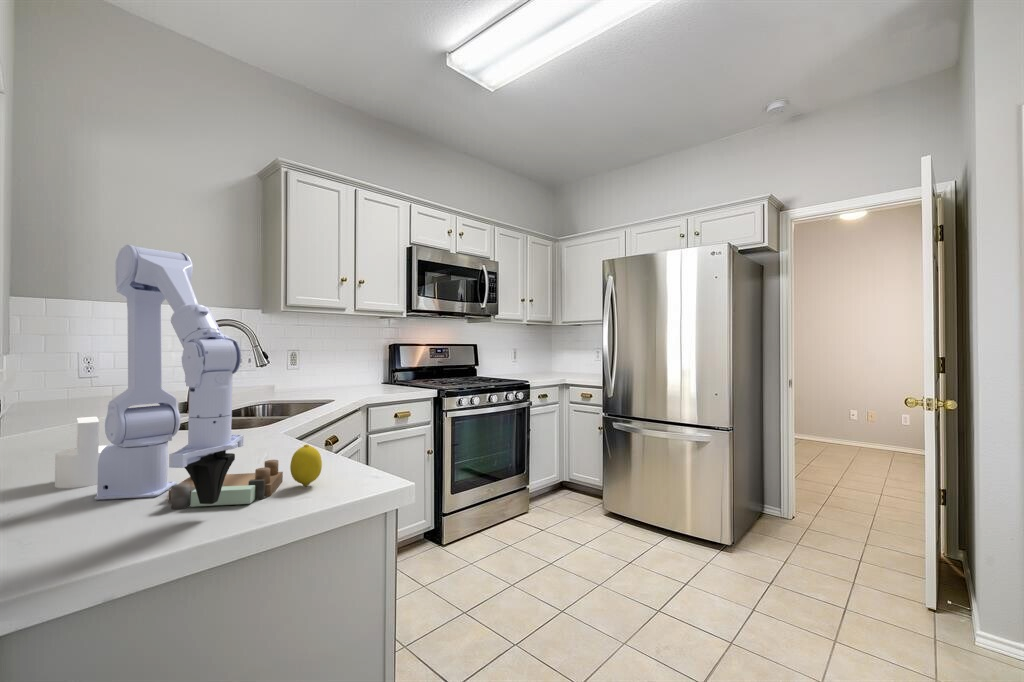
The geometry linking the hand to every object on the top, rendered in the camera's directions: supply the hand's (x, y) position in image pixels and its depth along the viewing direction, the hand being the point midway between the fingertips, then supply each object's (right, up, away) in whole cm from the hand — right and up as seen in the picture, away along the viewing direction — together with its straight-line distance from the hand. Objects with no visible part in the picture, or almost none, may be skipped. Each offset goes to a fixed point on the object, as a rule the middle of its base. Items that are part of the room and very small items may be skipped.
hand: (208, 502), depth 74 cm
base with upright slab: (-36, -2, +19) cm, 40 cm away
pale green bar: (-1, -2, +6) cm, 7 cm away
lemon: (+8, -3, +17) cm, 19 cm away
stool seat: (-4, -2, +11) cm, 12 cm away
